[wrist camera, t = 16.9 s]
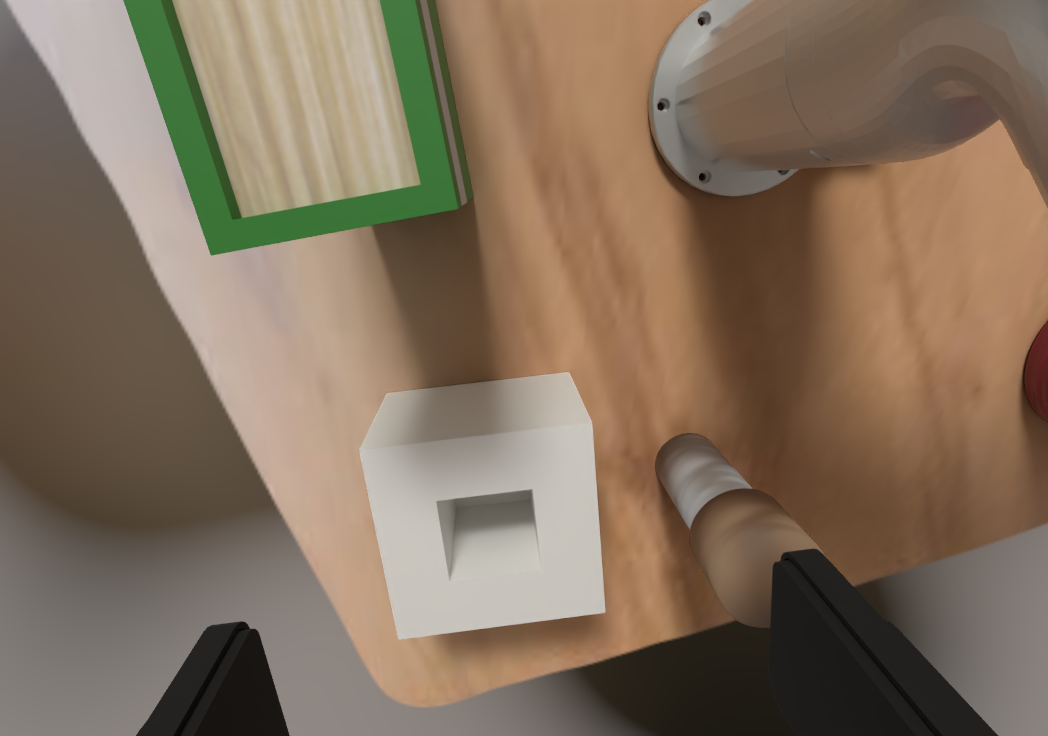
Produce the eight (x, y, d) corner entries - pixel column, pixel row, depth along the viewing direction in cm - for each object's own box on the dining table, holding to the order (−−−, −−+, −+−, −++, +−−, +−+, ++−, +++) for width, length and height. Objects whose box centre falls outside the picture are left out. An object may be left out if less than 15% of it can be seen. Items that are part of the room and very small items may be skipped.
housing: (569, 371, 44) (592, 422, 34) (581, 529, 48) (605, 612, 39) (386, 393, 44) (358, 450, 34) (415, 549, 48) (398, 639, 38)
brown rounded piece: (724, 422, 46) (832, 526, 32) (724, 492, 48) (825, 620, 34) (646, 431, 46) (719, 540, 32) (649, 501, 48) (718, 634, 34)
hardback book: (292, -82, 34) (-90, -621, 12) (414, -105, 34) (274, -683, 12) (368, 217, 40) (210, 255, 17) (473, 197, 40) (458, 209, 17)
